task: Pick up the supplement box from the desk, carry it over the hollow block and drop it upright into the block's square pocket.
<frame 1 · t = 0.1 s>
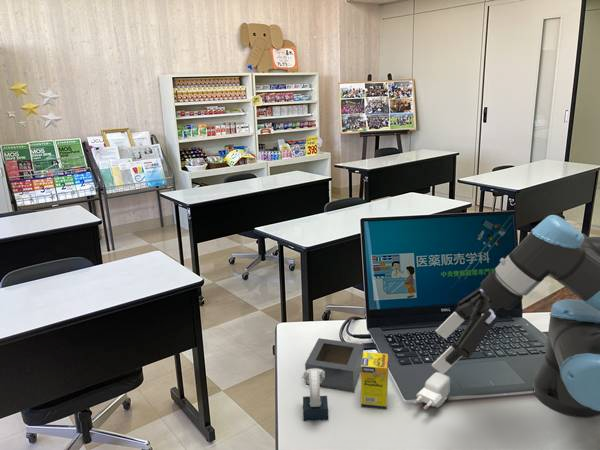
hand: (438, 351, 102), 15 cm above the table, tool tilted 35°, fingers open, 13 cm apart
power adapter: (431, 406, 108), on the table
hollow block: (335, 374, 121), on the table
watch: (315, 414, 107), on the table
supplement box: (374, 400, 111), on the table
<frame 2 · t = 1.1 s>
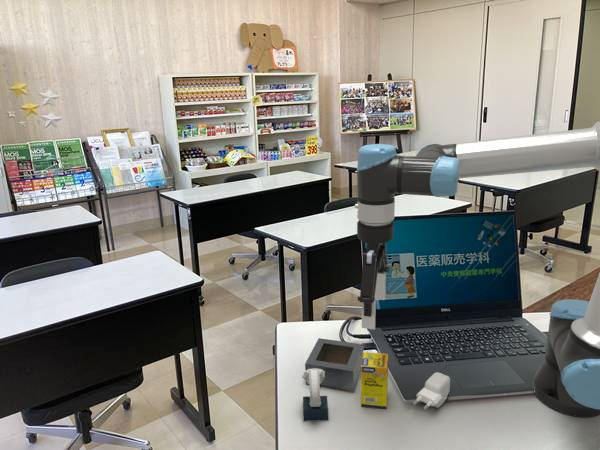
hand: (374, 312, 104), 23 cm above the table, tool pointing down, fingers open, 13 cm apart
nothing on the table moved.
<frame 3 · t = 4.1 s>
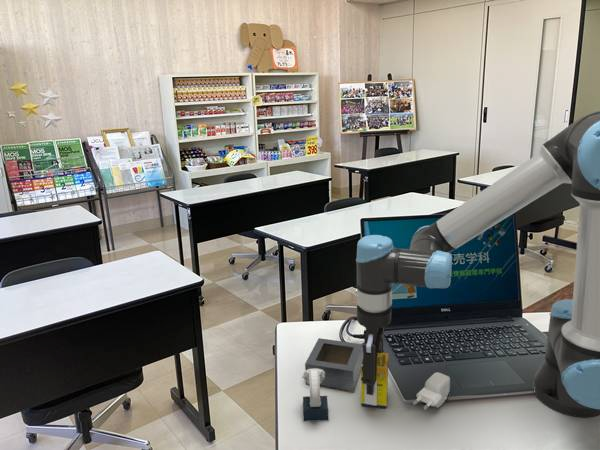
hand: (373, 393, 111), 1 cm above the table, tool pointing down, fingers closed on supplement box, 6 cm apart
supplement box: (374, 400, 111), on the table, touching gripper
everything else where it was.
when the fingers open (8 cm above the table, at t = 9.2 s): supplement box drops 6 cm, resting on hollow block.
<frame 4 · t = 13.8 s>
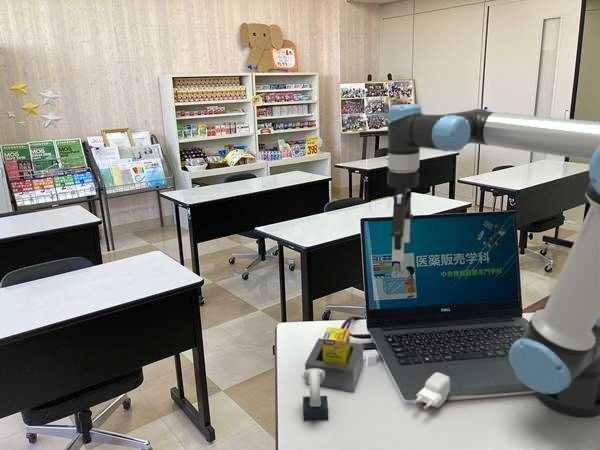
hand: (401, 251, 122), 29 cm above the table, tool pointing down, fingers open, 13 cm apart
supplement box: (337, 372, 121), resting on hollow block
everything else where it was.
at the end: supplement box 0.6 cm off-centre on the hollow block, point 0.3 cm above the hollow block's base; supplement box tilted 0°; the gripper is holding nothing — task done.
